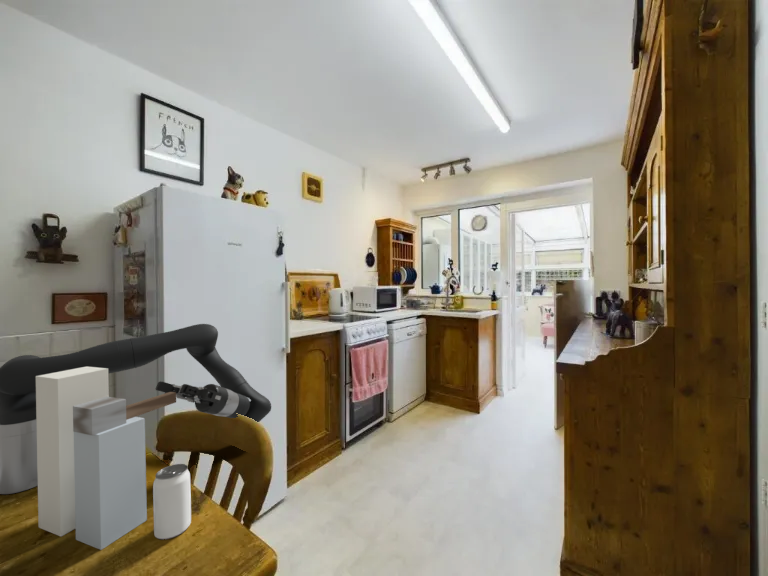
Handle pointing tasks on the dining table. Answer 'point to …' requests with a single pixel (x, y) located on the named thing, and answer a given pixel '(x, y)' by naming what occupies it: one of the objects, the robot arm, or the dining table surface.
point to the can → (171, 501)
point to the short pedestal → (110, 483)
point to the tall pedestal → (61, 441)
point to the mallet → (113, 412)
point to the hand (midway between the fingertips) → (169, 386)
